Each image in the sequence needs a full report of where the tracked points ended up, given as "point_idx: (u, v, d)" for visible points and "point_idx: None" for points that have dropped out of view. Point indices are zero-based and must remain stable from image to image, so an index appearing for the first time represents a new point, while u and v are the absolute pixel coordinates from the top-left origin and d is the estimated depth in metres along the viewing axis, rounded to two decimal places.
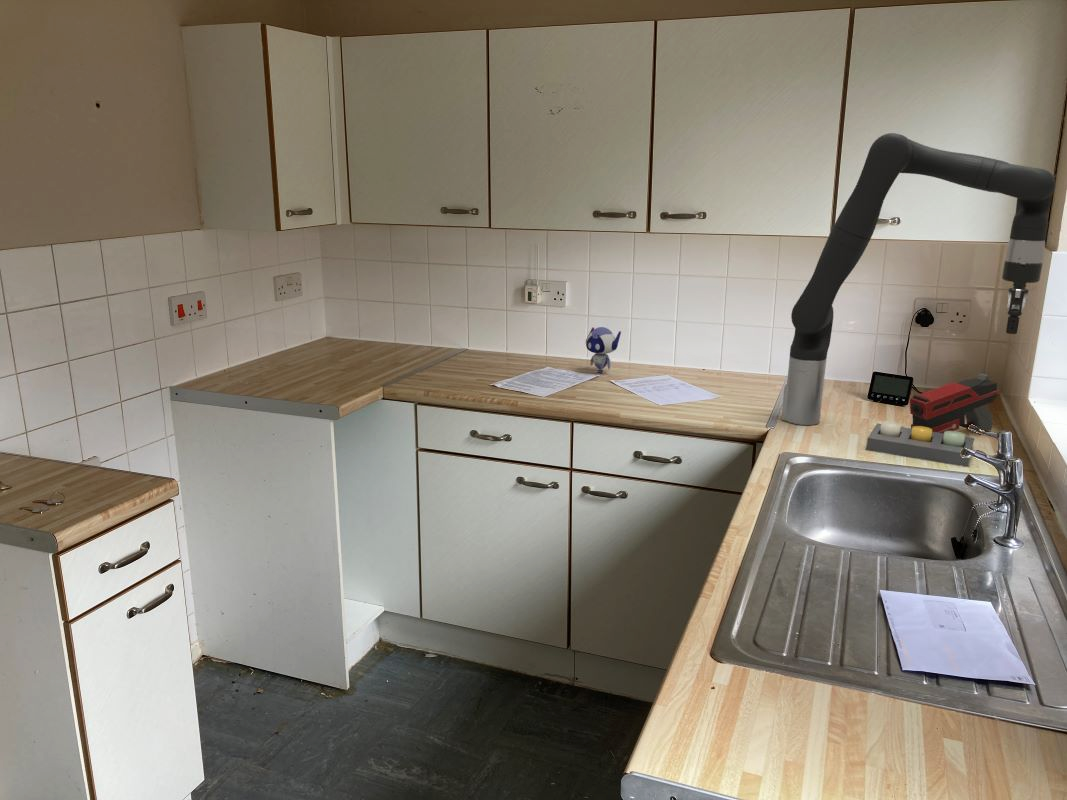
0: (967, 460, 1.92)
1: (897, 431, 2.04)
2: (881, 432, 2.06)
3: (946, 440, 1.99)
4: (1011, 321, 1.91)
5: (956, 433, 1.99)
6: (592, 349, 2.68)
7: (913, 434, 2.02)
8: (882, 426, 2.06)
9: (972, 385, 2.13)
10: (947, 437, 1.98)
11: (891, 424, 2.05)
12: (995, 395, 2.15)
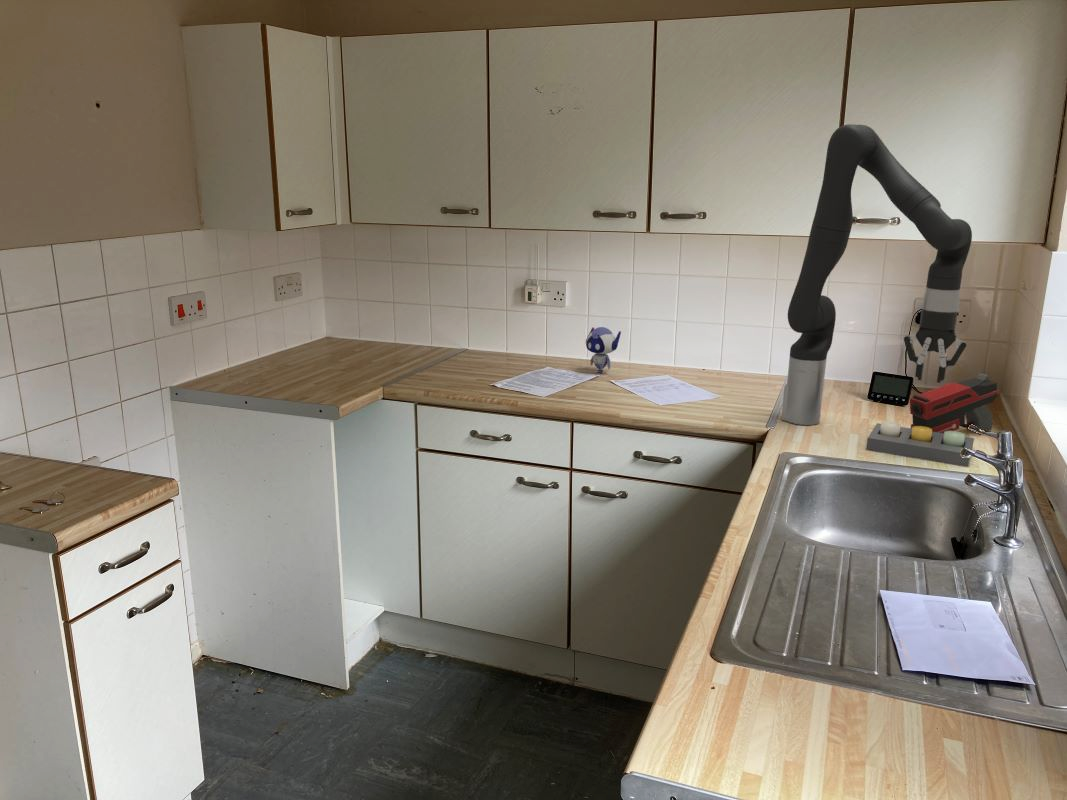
0: (967, 460, 1.92)
1: (897, 431, 2.04)
2: (881, 432, 2.06)
3: (946, 440, 1.99)
4: None
5: (956, 433, 1.99)
6: (592, 349, 2.68)
7: (913, 434, 2.02)
8: (882, 426, 2.06)
9: (972, 385, 2.13)
10: (947, 437, 1.98)
11: (891, 424, 2.05)
12: (995, 395, 2.15)
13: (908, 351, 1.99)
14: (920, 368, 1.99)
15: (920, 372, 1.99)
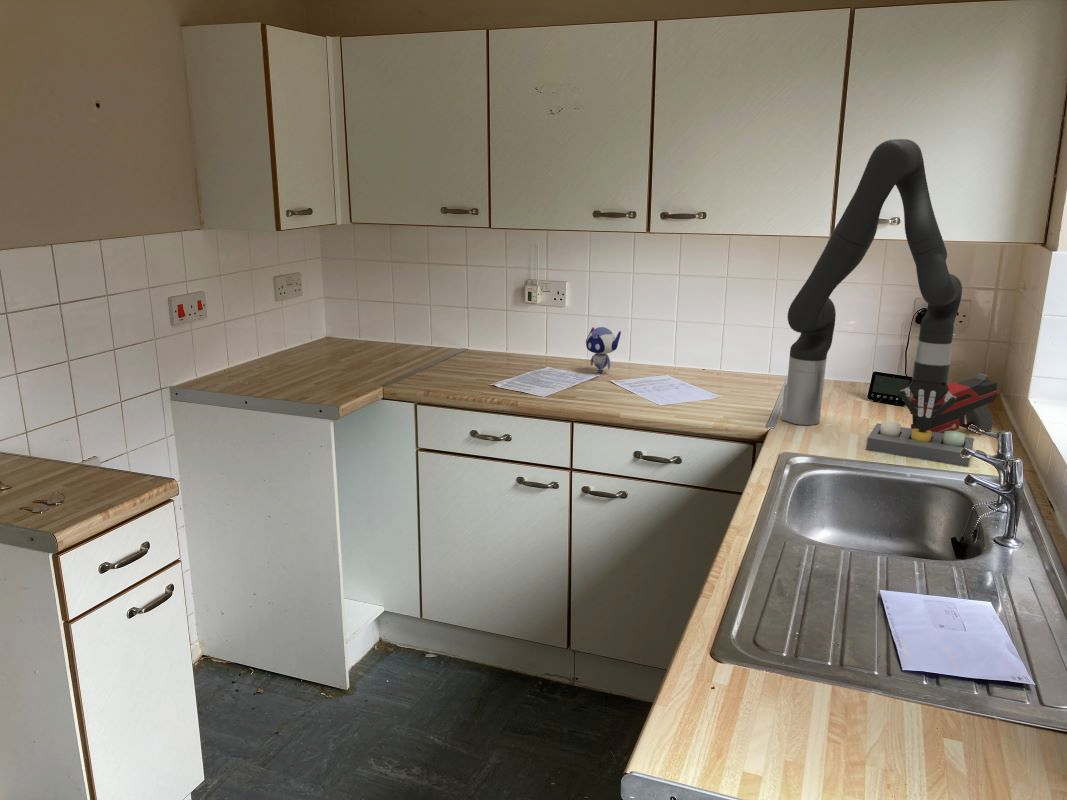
0: (967, 460, 1.92)
1: (897, 431, 2.04)
2: (881, 432, 2.06)
3: (946, 440, 1.99)
4: None
5: (956, 433, 1.99)
6: (592, 349, 2.68)
7: (913, 436, 2.02)
8: (882, 426, 2.06)
9: (972, 385, 2.13)
10: (947, 437, 1.98)
11: (891, 424, 2.05)
12: (995, 395, 2.15)
13: (907, 404, 2.02)
14: (921, 420, 2.01)
15: (921, 424, 2.01)
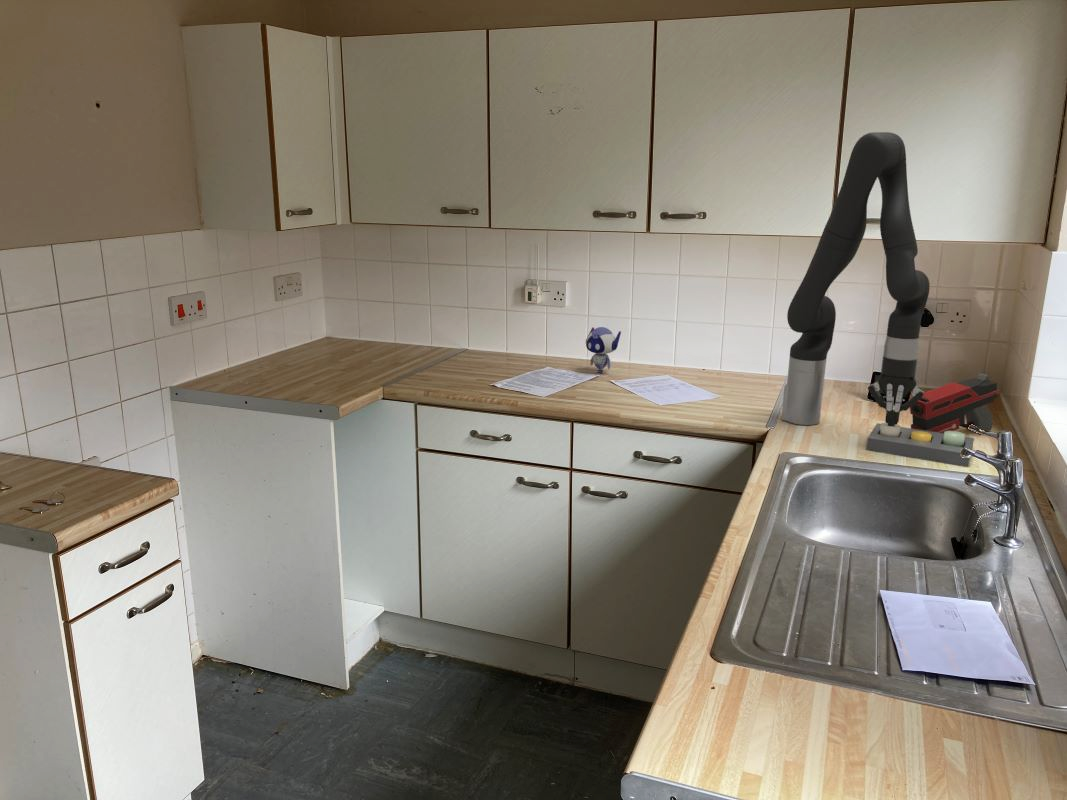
0: (967, 460, 1.92)
1: (897, 432, 2.04)
2: (881, 433, 2.06)
3: (946, 440, 1.99)
4: None
5: (956, 433, 1.99)
6: (592, 349, 2.68)
7: (912, 439, 2.03)
8: (882, 427, 2.06)
9: (972, 385, 2.13)
10: (947, 437, 1.98)
11: None
12: (995, 395, 2.15)
13: (876, 399, 2.05)
14: (890, 414, 2.04)
15: (890, 418, 2.04)
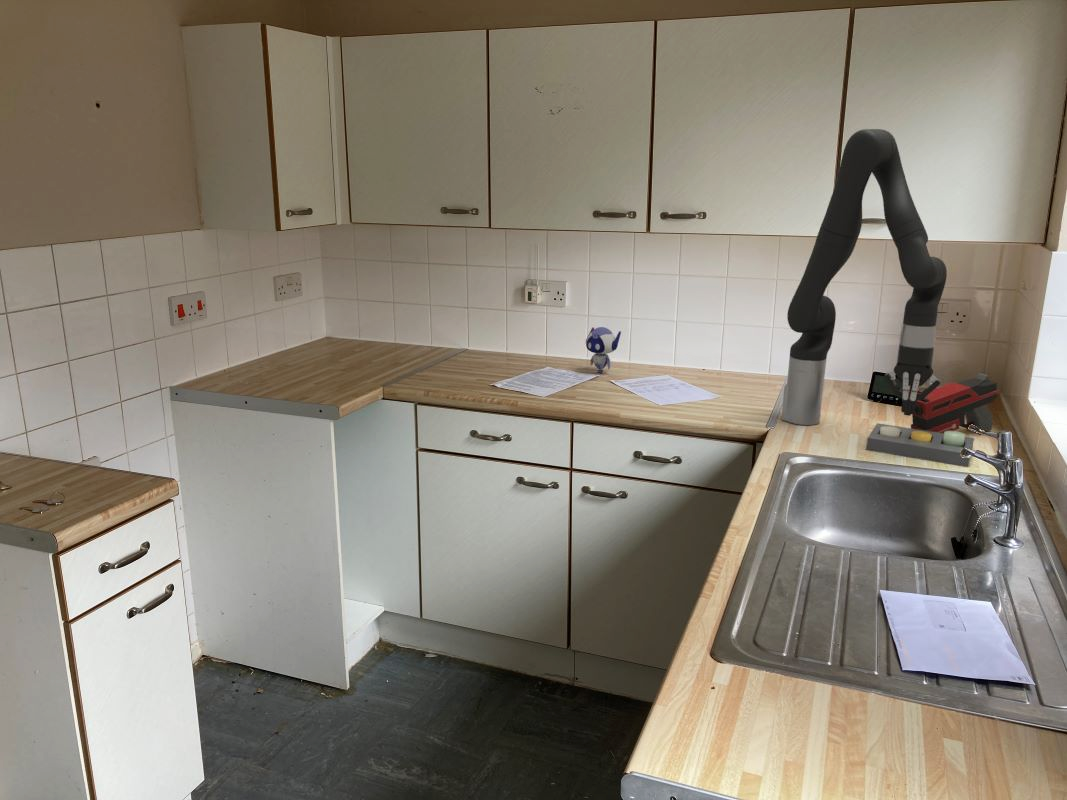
0: (967, 460, 1.92)
1: (896, 436, 2.04)
2: None
3: (946, 440, 1.99)
4: None
5: (956, 433, 1.99)
6: (592, 349, 2.68)
7: (912, 439, 2.03)
8: (881, 431, 2.06)
9: (972, 385, 2.13)
10: (947, 437, 1.98)
11: (890, 429, 2.06)
12: (995, 395, 2.15)
13: (892, 388, 2.02)
14: (906, 403, 2.02)
15: (906, 407, 2.02)
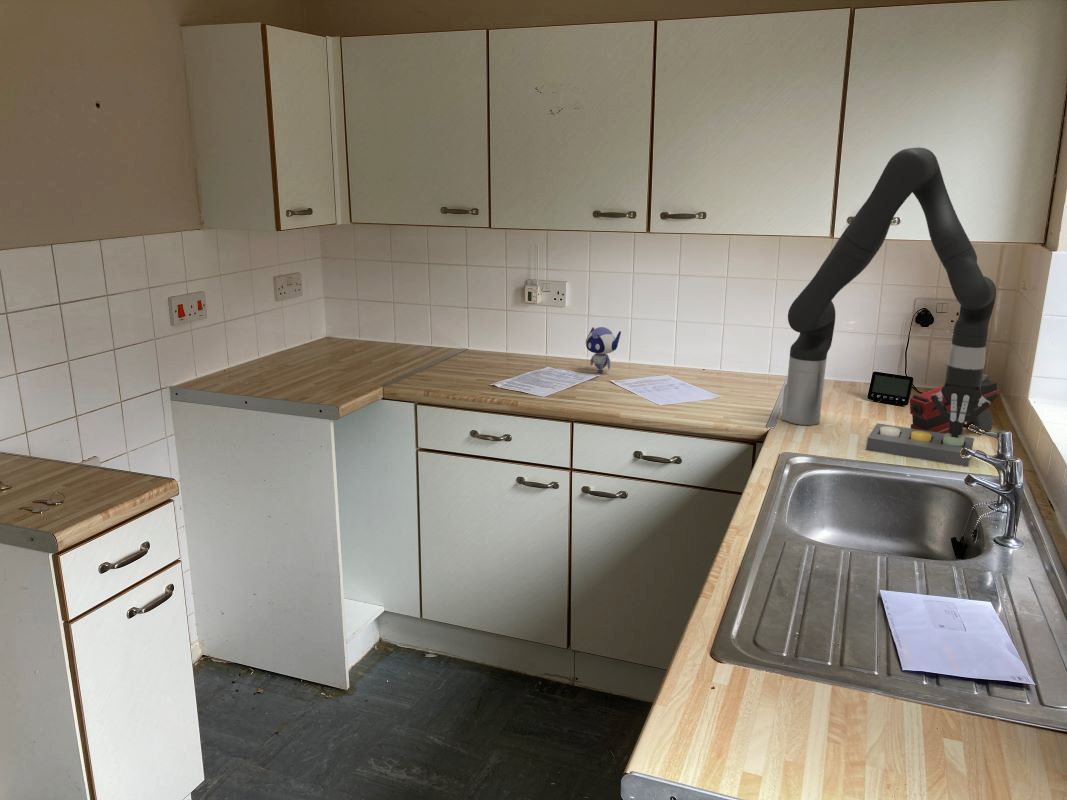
0: (967, 460, 1.92)
1: (896, 436, 2.04)
2: None
3: (945, 442, 1.99)
4: None
5: None
6: (592, 349, 2.68)
7: (912, 439, 2.03)
8: (881, 431, 2.06)
9: None
10: (946, 440, 1.99)
11: (890, 429, 2.06)
12: (995, 395, 2.15)
13: (939, 409, 1.98)
14: (953, 425, 1.98)
15: (953, 429, 1.98)
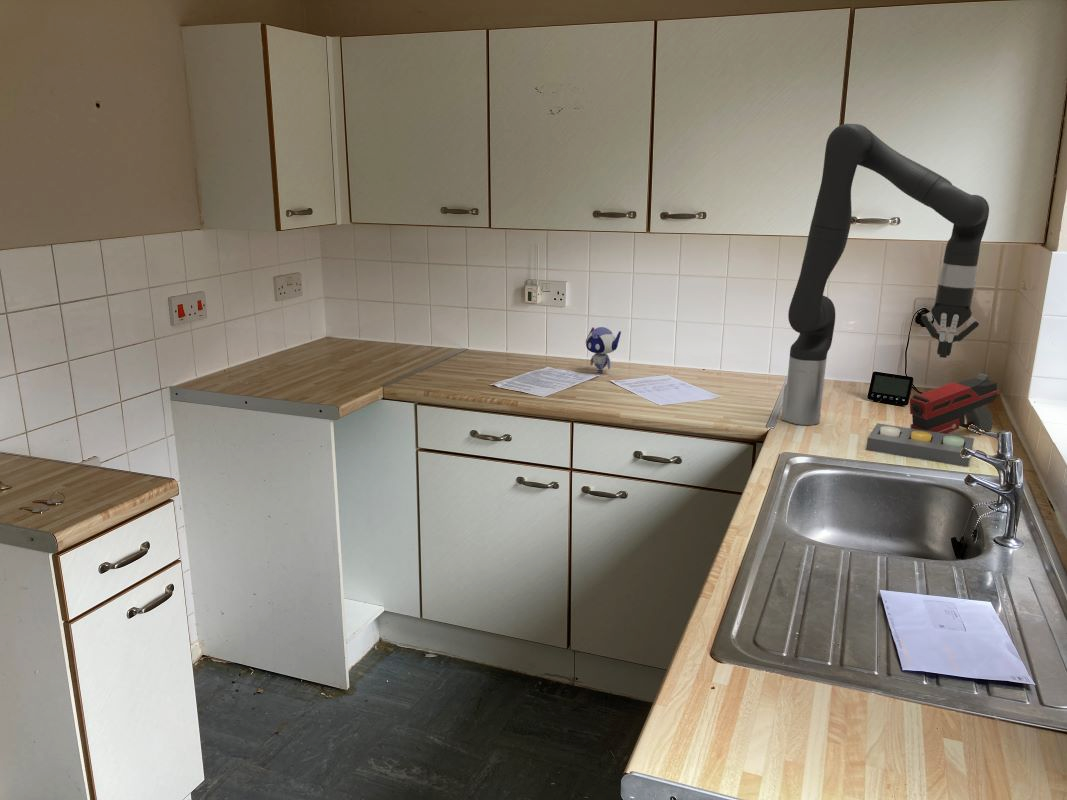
0: (967, 460, 1.92)
1: (896, 436, 2.04)
2: None
3: None
4: None
5: (955, 438, 1.99)
6: (592, 349, 2.68)
7: (912, 439, 2.03)
8: (881, 431, 2.06)
9: (972, 385, 2.13)
10: (946, 442, 1.99)
11: (890, 429, 2.06)
12: (995, 395, 2.15)
13: (928, 329, 2.00)
14: (942, 345, 1.99)
15: (942, 349, 1.99)
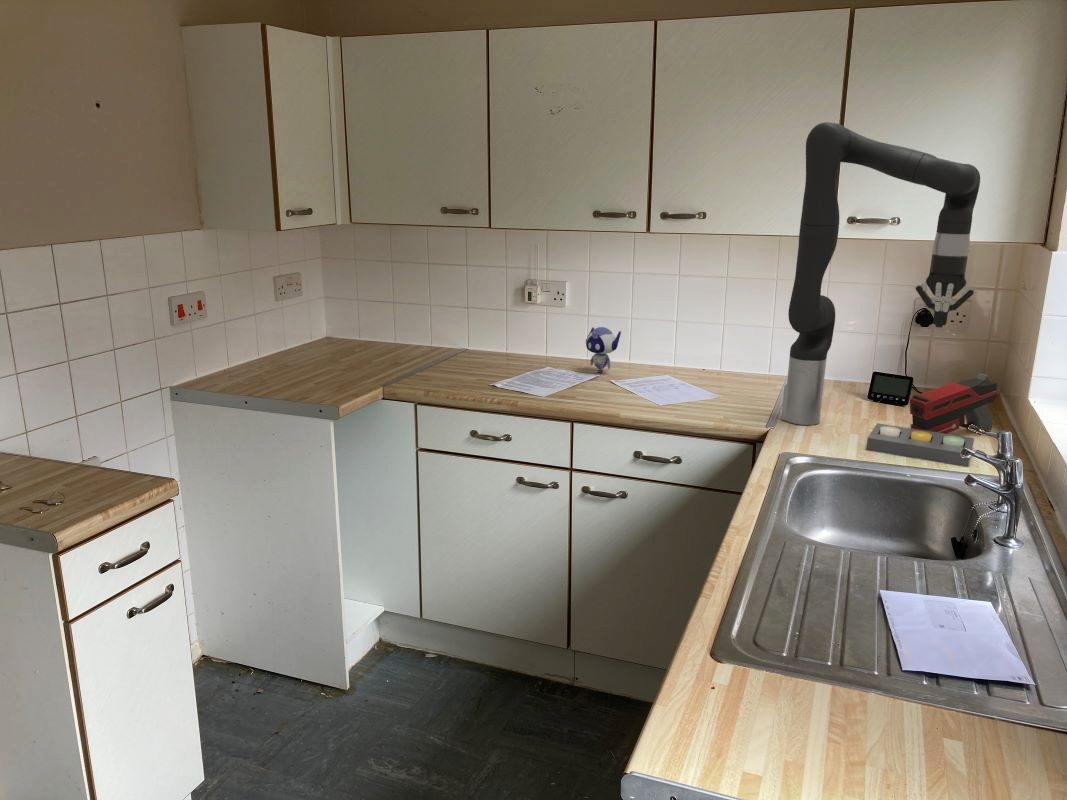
0: (967, 460, 1.92)
1: (896, 436, 2.04)
2: None
3: None
4: None
5: (955, 438, 1.99)
6: (592, 349, 2.68)
7: (912, 439, 2.03)
8: (881, 431, 2.06)
9: (972, 385, 2.13)
10: (946, 442, 1.99)
11: (890, 429, 2.06)
12: (995, 395, 2.15)
13: (924, 299, 2.00)
14: (938, 315, 2.00)
15: (938, 319, 2.00)
